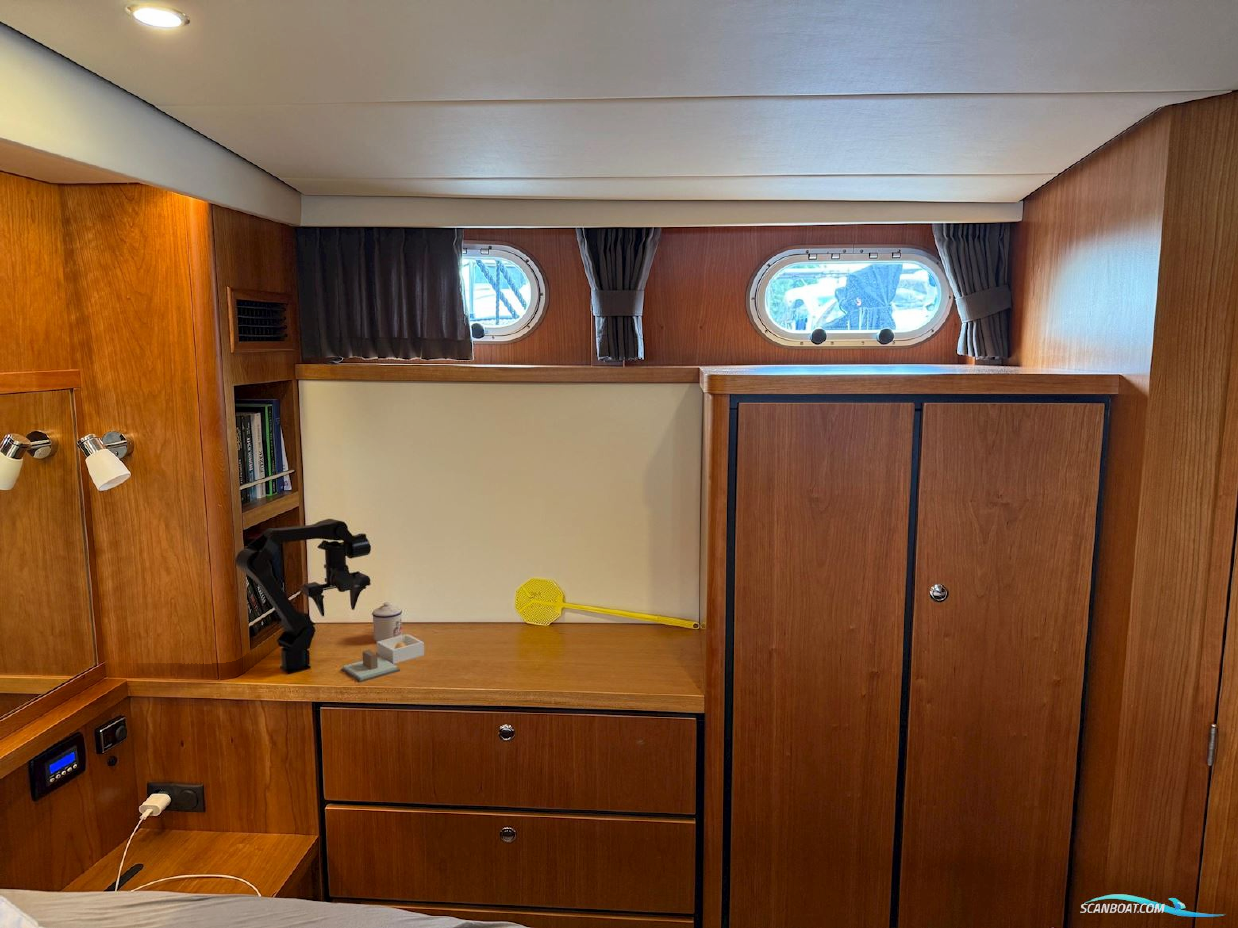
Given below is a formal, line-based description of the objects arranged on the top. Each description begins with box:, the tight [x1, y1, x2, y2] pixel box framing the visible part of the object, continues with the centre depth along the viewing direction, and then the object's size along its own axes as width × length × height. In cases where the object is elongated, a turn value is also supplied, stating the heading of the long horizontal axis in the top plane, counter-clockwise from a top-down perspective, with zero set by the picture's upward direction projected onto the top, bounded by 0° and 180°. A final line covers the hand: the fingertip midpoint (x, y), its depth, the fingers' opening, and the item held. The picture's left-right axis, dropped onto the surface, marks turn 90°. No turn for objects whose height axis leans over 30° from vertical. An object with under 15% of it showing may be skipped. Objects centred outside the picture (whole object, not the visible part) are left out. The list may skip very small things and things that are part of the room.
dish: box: [376, 633, 425, 665], centre depth 234 cm, size 10×10×4 cm
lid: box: [342, 649, 398, 680], centre depth 222 cm, size 11×11×5 cm
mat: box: [340, 667, 401, 683], centre depth 222 cm, size 12×12×1 cm
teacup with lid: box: [371, 601, 403, 643], centre depth 249 cm, size 12×9×12 cm
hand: (338, 612), depth 233 cm, fingers open, 9 cm apart
